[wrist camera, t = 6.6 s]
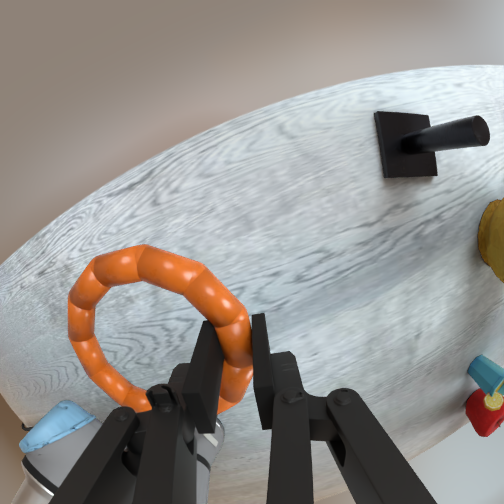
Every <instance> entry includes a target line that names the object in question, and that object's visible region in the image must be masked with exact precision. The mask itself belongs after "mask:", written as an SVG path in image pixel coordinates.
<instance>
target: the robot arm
mask: <svg viewBox="0 0 504 504" xmlns="http://www.w3.org/2000/svg"><path fill="white" fill-rule="evenodd" d="M252 349H253V387H254V393H255V397H256V402H257V407H258V411H259V416H260V421H261V425H262V430H268V429H272V437H271V452H270V465H269V478H268V490H267V501H266V504H314V498H313V475H312V457H311V441H310V440H313V441H326V443H327V445H328V447H329V449H330V451H331V454H332V456H333V458H334V460H335V462H336V464H337V466H338V468H339V470H340V472H341V474H342V476H343V478H344V480H345V482H346V484H347V486H348V488H349V490H350V492H351V494H352V496H353V498H354V500H355V502H356V504H437V503H436V501H435V500H434V499H433V497H432V496H431V494H430V493H429V491H428V490H427V489H426V487H425V486H424V484H423V483H422V482H421V480H420V479H419V478H418V476H417V475H416V473H415V472H414V471H413V469H412V468H411V466H410V465H409V464H408V462H407V461H406V459H405V458H404V457H403V455H402V454H401V452H400V451H399V450H398V448H397V447H396V445H395V444H394V443H393V441H392V440H391V439H390V437H389V436H388V434H387V433H386V432H385V430H384V429H383V427H382V426H381V425H380V423H379V422H378V421H377V419H376V418H375V416H374V415H373V414H372V412H371V411H370V409H369V408H368V407H367V405H366V404H365V403H364V401H363V400H362V398H361V397H360V396H359V394H358V393H357V392H356V391H354V390H352V389H349V388H340V389H336V390H334V391H332V392H331V393H330V394H329V395H328V396H327V397H317V396H313V395H310V394H308V393H307V392H306V391H305V390H304V388H303V385H302V381H301V377H300V374H299V370H298V366H297V362H296V358H295V356H294V355H293V354H292V353H291V352H290V351H287V352H280V353H274V354H270V347H269V340H268V334H267V327H266V320H265V314H264V313H261V314H254V315H252ZM223 362H224V356H223V352H222V349H221V346H220V343H219V340H218V337H217V333H216V330H215V327H214V326H213V325H212V324H211V323H210V322H209V321H208V320H206V321H203V324H202V327H201V330H200V333H199V336H198V339H197V343H196V346H195V349H194V352H193V356H192V359H191V362H190V363H182V364H178V365H177V366H176V367H175V368H174V369H173V371H172V374H171V377H170V379H169V382H168V384H158V385H155V386H153V387H151V388H150V389H148V390H147V392H146V394H145V395H146V397H147V399H148V401H149V403H150V405H151V407H152V409H151V410H148V411H144V412H139V413H136V412H135V411H134V410H133V409H132V408H131V407H128V406H122V407H118V408H116V409H115V410H113V411H112V412H111V413H110V414H109V416H108V417H107V419H106V420H105V422H104V423H102V422H100V421H99V420H98V419H96V416H94V415H91V414H90V413H88V412H87V411H85V410H84V409H83V408H81V407H80V406H79V405H77V404H76V403H74V402H73V401H70V400H63V401H61V402H59V403H58V404H57V405H56V406H54V407H53V408H52V409H51V410H50V411H49V412H48V413H47V414H46V415H45V416H44V417H43V418H42V419H41V420H40V421H39V422H38V423H37V424H36V425H35V426H34V427H29V428H25V427H24V426H25V424H24V423H22V429H23V430H25V431H29V433H28V434H27V435H26V436H25V437H24V438H23V440H21V442H20V443H19V446H20V448H21V449H22V451H23V452H24V453H26V455H25V457H24V458H23V460H22V462H21V465H22V468H23V471H24V474H25V480H24V481H23V483H22V485H21V487H20V488H19V490H18V492H17V493H16V495H15V497H14V499H13V501H12V502H11V504H207V502H208V491H209V479H210V469H211V465H212V463H213V461H214V460H215V458H216V456H217V454H218V453H219V451H220V449H221V447H222V445H223V442H224V427H223V425H222V423H221V422H220V420H219V419H218V418H217V411H218V403H219V395H220V387H221V379H222V371H223Z"/></svg>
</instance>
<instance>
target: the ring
mask: <svg viewBox="0 0 504 504" xmlns="http://www.w3.org/2000/svg"><path fill="white" fill-rule="evenodd" d="M140 281H144V282H147V283H150V284H152V285H155V286H158V287H161V288H163V289H166V290H169V291H172V292H175V293H177V294H180V295H183V296H184V297H185V298H186V299H187V300H188V301H189V302H190V303H191V304H192V305H193V306H194V307H195V308H196V309H197V310H198V311H199V312H200V313H201V314H202V315H203V316H204V317H205V318H206V319H207V320H208V321H209V322H210V323H211V324H212V325H213V326H214V327H215V330H216V333H217V337H218V340H219V343H220V346H221V349H222V352H223V356H224V362H223V371H222V379H221V387H220V395H219V403H218V411H217V415H218V414H220V413H222V412H223V411H225V410H227V409H229V408H231V407H232V406H234V405H236V404H238V403H239V402H240V401H241V400H242V398H243V396H244V394H245V392H246V390H247V388H248V385H249V383H250V381H251V379H252V376H253V349H252V329H251V325H250V321H249V316H248V313H247V310H246V308H245V307H244V305H243V304H242V303H241V302H240V301H239V300H238V299H237V298H236V297H235V296H234V295H233V294H232V293H231V292H230V291H229V290H228V289H227V288H226V287H225V286H224V285H223V284H222V283H221V282H220V281H219V280H218V279H217V278H216V277H215V275H214V274H213V273H212V272H211V271H210V270H209V269H208V268H207V267H206V266H205V265H204V264H202V263H200V262H198V261H195V260H192V259H189V258H186V257H183V256H180V255H177V254H174V253H171V252H168V251H165V250H162V249H159V248H156V247H153V246H150V245H146V244H142V245H137V246H133V247H129V248H125V249H121V250H117V251H113V252H109V253H106V254H102V255H98V256H96V257H95V258H93V259H92V260H91V262H90V263H89V264H88V266H87V267H86V268H85V270H84V271H83V273H82V274H81V275H80V277H79V278H78V280H77V281H76V283H75V284H74V285H73V287H72V288H71V290H70V292H69V295H68V337H69V340H70V342H71V344H72V346H73V348H74V350H75V352H76V354H77V356H78V358H79V360H80V362H81V364H82V366H83V368H84V370H85V372H86V374H87V375H88V377H89V378H90V379H91V380H92V381H93V382H94V383H95V384H97V385H98V386H99V387H100V388H101V389H102V390H103V391H104V392H105V393H106V394H108V395H109V396H110V397H111V398H112V399H113V400H114V401H116V402H117V403H118V404H119V405H121V406H128V407H131V408H132V409H133V410H134V411H135V412H136V413H139V412H144V411H148V410H151V409H152V407H151V405H150V403H149V401H148V399H147V397H146V395H145V394H146V392H147V391H146V390H144V389H141V388H139V387H136V386H134V385H132V384H131V383H130V382H129V381H128V380H126V379H125V378H124V377H123V376H122V375H121V374H120V373H119V372H118V371H117V370H116V369H114V368H113V367H112V366H111V365H110V364H109V363H108V362H107V360H106V358H105V356H104V354H103V352H102V349H101V347H100V345H99V343H98V341H97V338H96V336H95V334H94V324H95V307H96V305H97V304H98V302H99V301H100V300H101V299H102V298H103V296H104V295H105V294H106V293H107V292H108V290H109V289H110V288H111V287H113V286H119V285H124V284H129V283H135V282H140Z"/></svg>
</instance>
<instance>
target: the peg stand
mask: <svg viewBox="0 0 504 504" xmlns="http://www.w3.org/2000/svg"><path fill="white" fill-rule="evenodd" d="M374 116H375V121H376V127H377V132H378V138H379V144H380V150H381V157H382V165H383V173H384V178H396V177H419V176H438V174H437V165H436V157H435V151H443V150H450V149H459V148H467V147H476V146H486V145H487V144H488V143H489V140H490V132H489V128H488V126H487V124H486V122H485V120H484V119H483V118H482V117H480V116H472V117H468V118H464V119H459V120H455V121H451V122H448V123H444V124H440V125H436V126H432V127H431V126H430V121H429V116H428V115H421V114H411V113H399V112H383V111H377V112H375V113H374Z"/></svg>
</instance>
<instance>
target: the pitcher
mask: <svg viewBox="0 0 504 504" xmlns="http://www.w3.org/2000/svg"><path fill="white" fill-rule="evenodd" d="M478 242H479V243H478V247H479V250H480V253H481V255H482V258H483V259H484V262H486V263H487V265H489V266H490V267H491V268H492V270H493V271H494V273H495V275H496V276H497V277H498V278H499V279H500V280H501V281H502V282H503V283H504V198H503V199H502V200H498V199H497V200H495V201H494V202H490V204H489V205H488V207H487V208H486V210H485V212H484V214H483V216H482V219H481V221H480V225H479V232H478Z"/></svg>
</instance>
